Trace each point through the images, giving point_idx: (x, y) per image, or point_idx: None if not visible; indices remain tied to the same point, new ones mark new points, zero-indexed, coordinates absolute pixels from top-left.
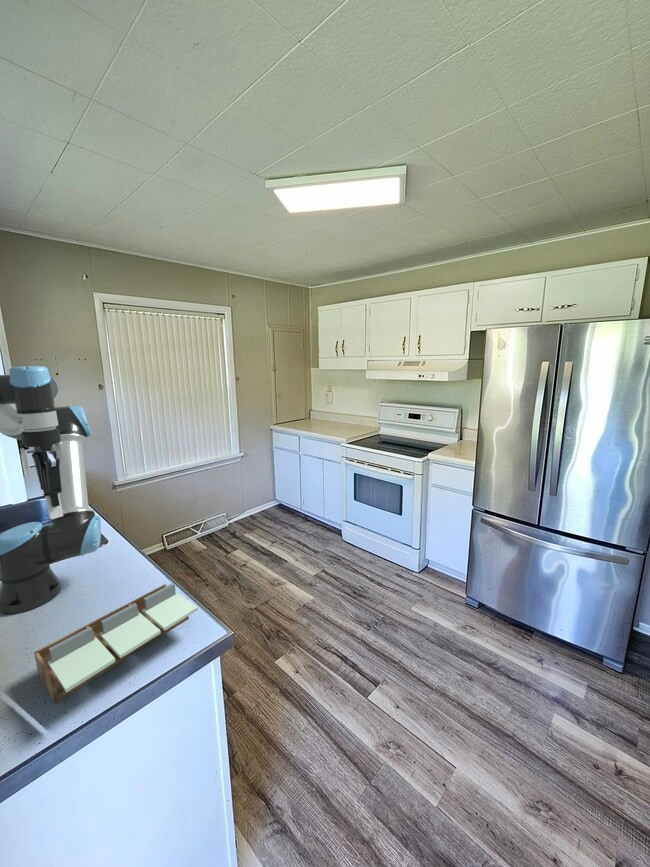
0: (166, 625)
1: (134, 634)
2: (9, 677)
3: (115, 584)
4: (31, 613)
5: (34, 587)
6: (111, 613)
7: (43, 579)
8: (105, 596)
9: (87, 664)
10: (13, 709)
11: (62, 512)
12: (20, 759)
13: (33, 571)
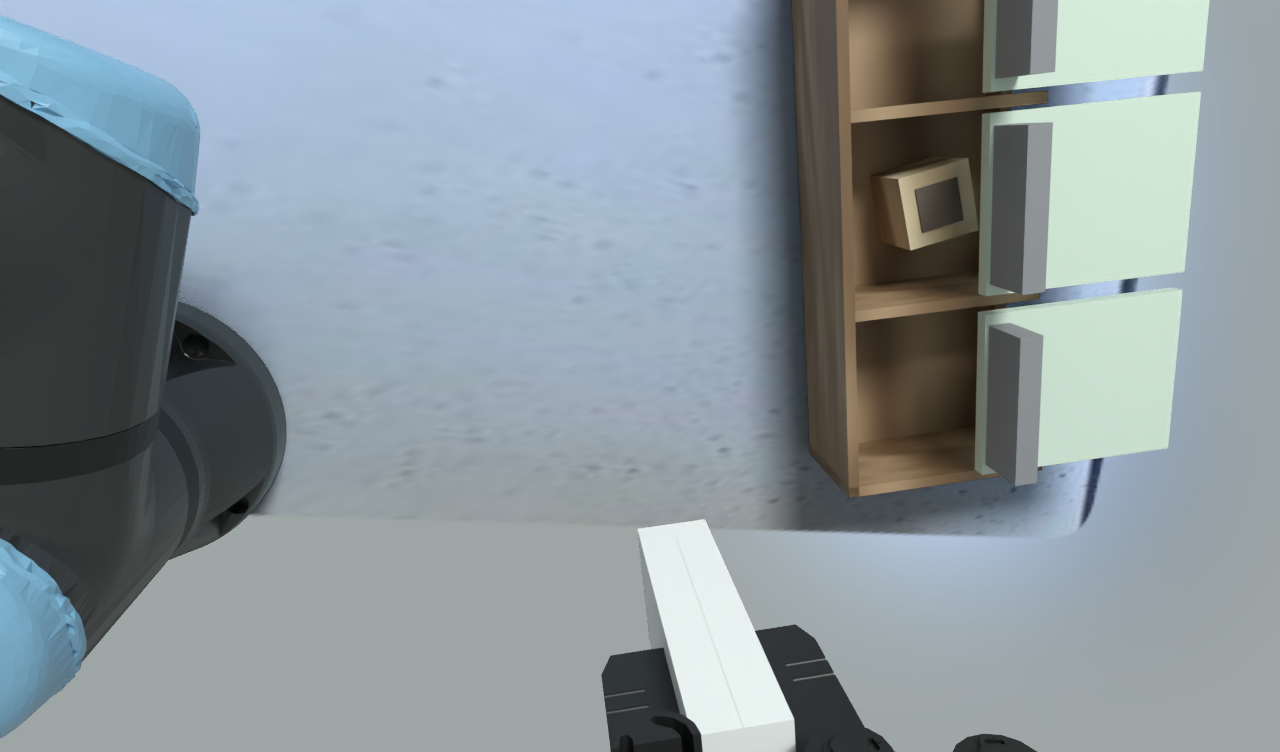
0: (1196, 55)
1: (1124, 187)
2: (716, 523)
3: (344, 54)
4: (320, 435)
5: (225, 441)
6: (852, 208)
7: (186, 402)
8: (436, 136)
9: (1122, 372)
10: (878, 520)
11: (715, 543)
12: (1069, 515)
13: (171, 467)
